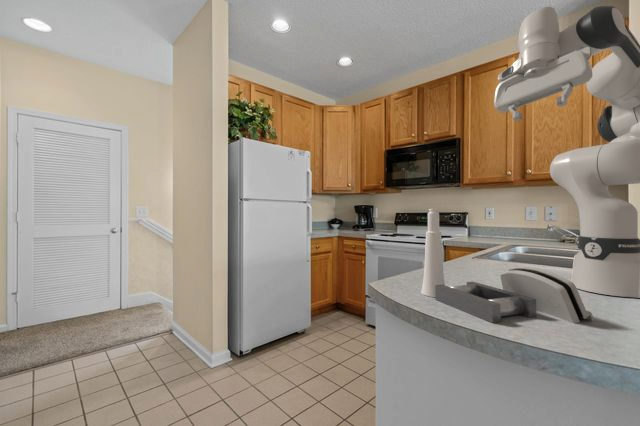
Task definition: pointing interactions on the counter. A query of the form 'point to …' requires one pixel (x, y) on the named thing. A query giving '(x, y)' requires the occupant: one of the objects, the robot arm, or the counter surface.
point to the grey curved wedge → (547, 292)
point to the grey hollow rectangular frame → (485, 301)
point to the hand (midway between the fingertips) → (538, 112)
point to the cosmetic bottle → (433, 256)
